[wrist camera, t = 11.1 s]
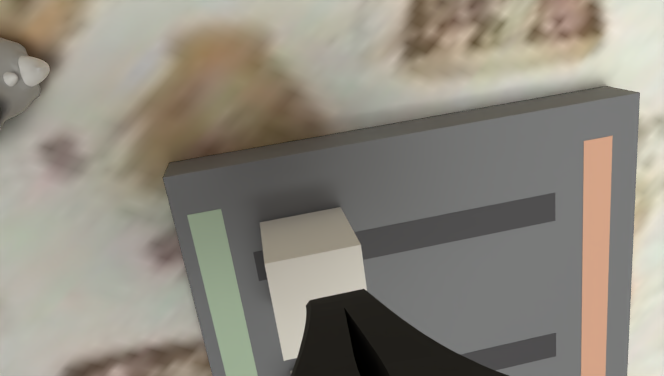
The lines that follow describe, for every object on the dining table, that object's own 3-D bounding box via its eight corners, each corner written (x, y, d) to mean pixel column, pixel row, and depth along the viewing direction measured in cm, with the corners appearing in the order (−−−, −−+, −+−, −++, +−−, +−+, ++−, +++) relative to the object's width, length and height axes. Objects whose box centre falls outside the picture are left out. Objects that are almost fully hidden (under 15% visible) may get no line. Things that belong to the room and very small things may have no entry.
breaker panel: (263, 545, 27) (265, 585, 25) (169, 162, 21) (162, 177, 19) (597, 459, 29) (622, 490, 27) (606, 86, 23) (640, 92, 21)
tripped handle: (276, 306, 21) (283, 360, 18) (259, 222, 20) (264, 264, 16) (352, 290, 21) (373, 340, 18) (340, 207, 20) (360, 244, 17)
